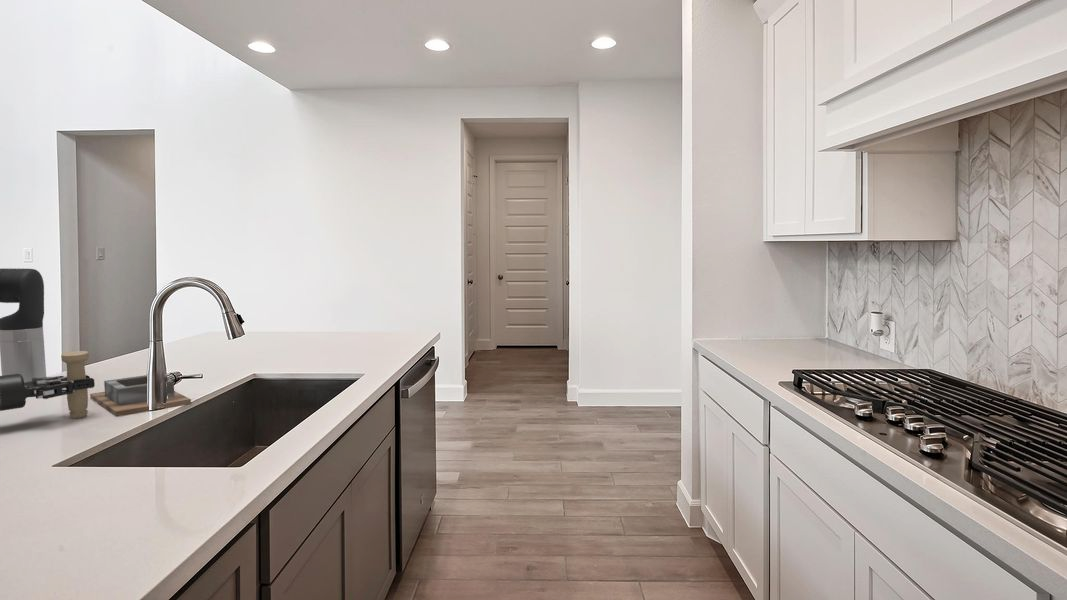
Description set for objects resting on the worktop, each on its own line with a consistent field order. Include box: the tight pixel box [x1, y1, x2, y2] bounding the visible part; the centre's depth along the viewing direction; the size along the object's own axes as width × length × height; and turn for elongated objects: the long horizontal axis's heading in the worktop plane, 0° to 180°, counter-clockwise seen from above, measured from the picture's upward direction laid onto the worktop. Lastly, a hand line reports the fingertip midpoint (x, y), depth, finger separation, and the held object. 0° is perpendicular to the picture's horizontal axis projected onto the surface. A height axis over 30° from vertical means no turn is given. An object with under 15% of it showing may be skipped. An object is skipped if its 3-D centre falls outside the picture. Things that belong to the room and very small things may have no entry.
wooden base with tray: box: [89, 374, 192, 418], centre depth 155 cm, size 24×16×5 cm, turn 48°
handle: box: [60, 350, 89, 419], centre depth 140 cm, size 5×6×15 cm
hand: (91, 381), depth 142 cm, fingers closed on handle, 3 cm apart
